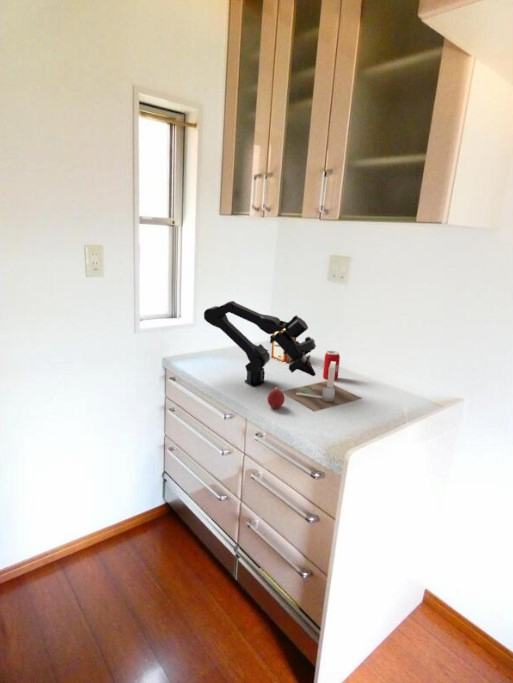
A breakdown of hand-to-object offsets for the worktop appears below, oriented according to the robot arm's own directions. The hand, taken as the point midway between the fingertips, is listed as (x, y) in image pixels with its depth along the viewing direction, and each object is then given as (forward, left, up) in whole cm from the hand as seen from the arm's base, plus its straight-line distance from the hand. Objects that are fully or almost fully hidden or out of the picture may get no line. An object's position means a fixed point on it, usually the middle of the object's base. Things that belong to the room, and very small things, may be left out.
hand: (314, 375), depth 158 cm
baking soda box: (+14, +39, -7) cm, 42 cm away
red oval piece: (-22, -5, -7) cm, 24 cm away
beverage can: (+16, +8, -7) cm, 19 cm away
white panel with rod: (-1, -3, -6) cm, 7 cm away
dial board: (0, -4, -7) cm, 8 cm away
